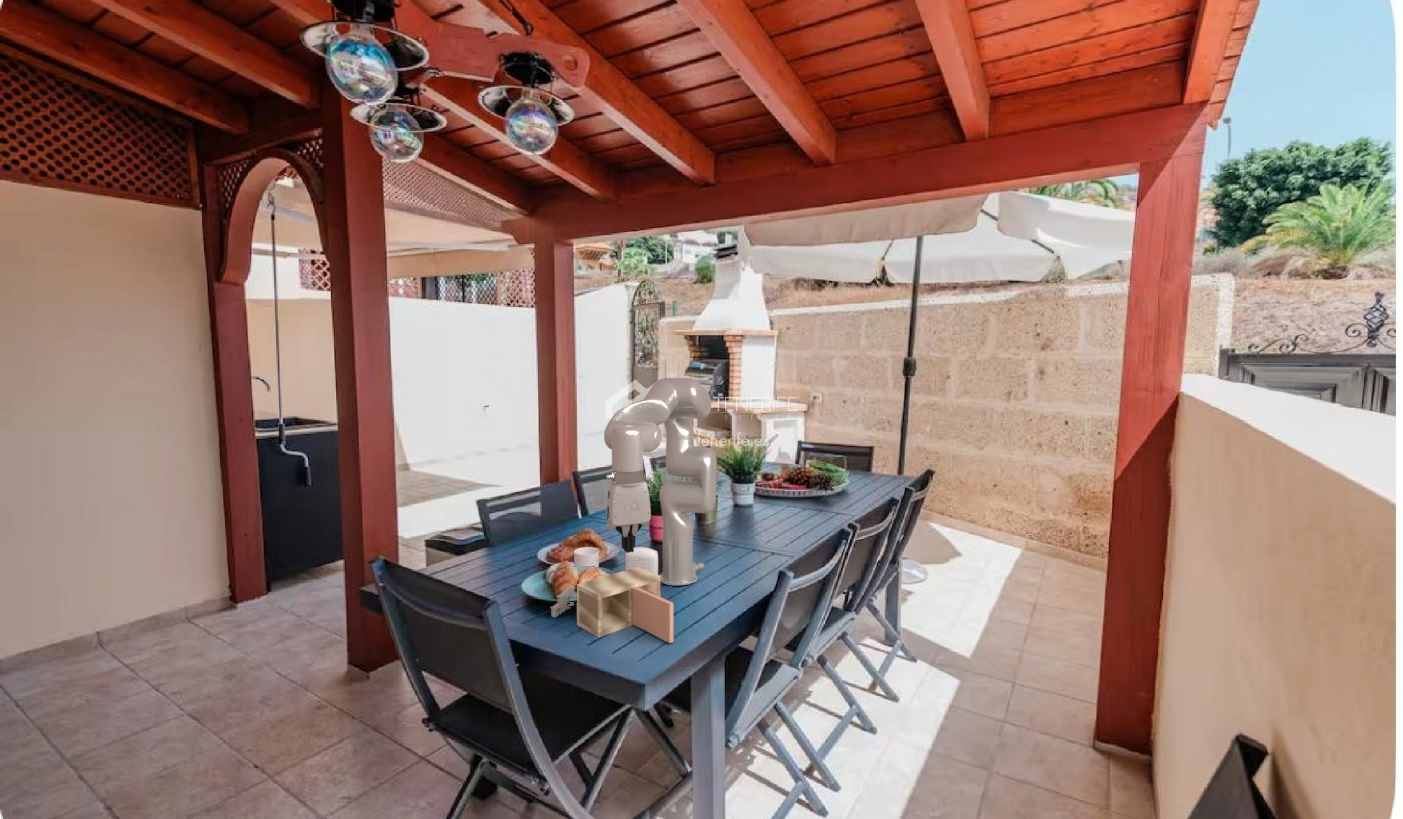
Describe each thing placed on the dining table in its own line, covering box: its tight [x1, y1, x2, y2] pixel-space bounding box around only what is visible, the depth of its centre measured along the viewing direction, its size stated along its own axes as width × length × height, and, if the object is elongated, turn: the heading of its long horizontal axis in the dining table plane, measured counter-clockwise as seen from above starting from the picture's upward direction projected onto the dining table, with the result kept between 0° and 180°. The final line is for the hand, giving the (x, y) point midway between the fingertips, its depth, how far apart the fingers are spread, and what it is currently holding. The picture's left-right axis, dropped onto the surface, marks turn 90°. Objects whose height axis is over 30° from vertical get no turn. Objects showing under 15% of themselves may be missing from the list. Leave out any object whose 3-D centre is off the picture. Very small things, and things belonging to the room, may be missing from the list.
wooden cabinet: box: [576, 567, 661, 638], centre depth 167 cm, size 20×11×11 cm, turn 133°
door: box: [632, 587, 674, 644], centre depth 159 cm, size 15×2×10 cm, turn 43°
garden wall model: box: [549, 586, 575, 618], centre depth 174 cm, size 12×2×6 cm, turn 159°
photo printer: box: [624, 546, 659, 575], centre depth 191 cm, size 10×4×12 cm, turn 78°
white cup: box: [573, 546, 600, 569], centre depth 195 cm, size 8×8×10 cm
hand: (628, 550), depth 153 cm, fingers closed
